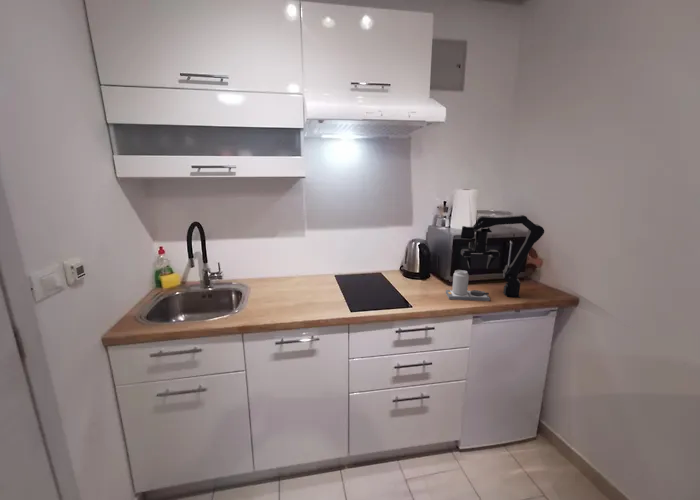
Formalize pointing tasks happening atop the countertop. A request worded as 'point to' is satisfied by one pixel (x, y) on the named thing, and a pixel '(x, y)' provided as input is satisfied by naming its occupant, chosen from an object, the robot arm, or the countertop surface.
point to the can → (460, 282)
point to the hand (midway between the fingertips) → (478, 268)
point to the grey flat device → (469, 295)
